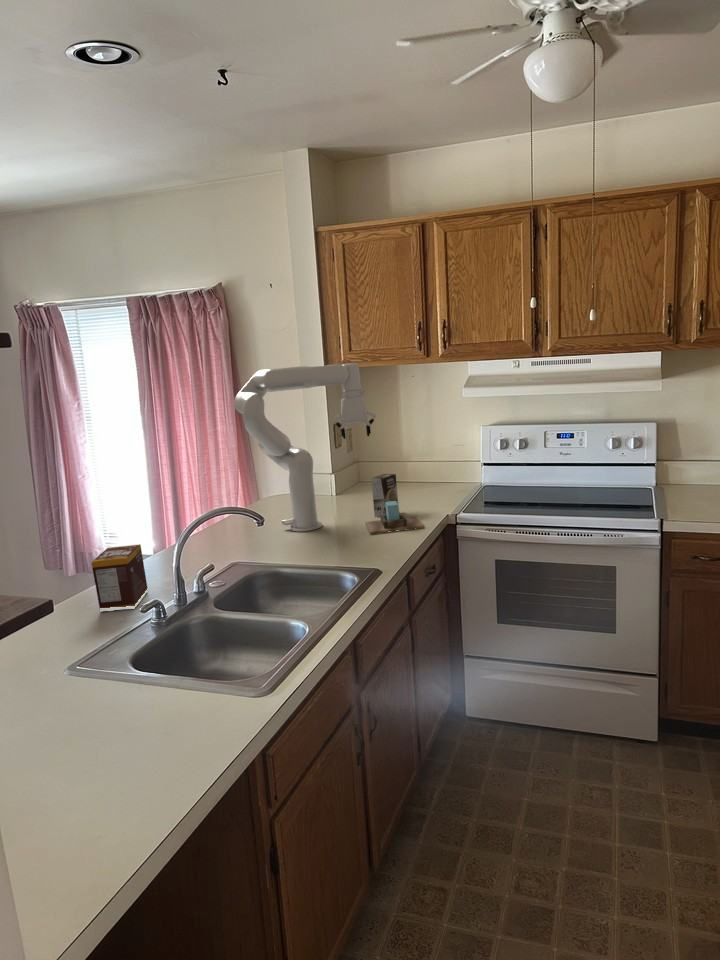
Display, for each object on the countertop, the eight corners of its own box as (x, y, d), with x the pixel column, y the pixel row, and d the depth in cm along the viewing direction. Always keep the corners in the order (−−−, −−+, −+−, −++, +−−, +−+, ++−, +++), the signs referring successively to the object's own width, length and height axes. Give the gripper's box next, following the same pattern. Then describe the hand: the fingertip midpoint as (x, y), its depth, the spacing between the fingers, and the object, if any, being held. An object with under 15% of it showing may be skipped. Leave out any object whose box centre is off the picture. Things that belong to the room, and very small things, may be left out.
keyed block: (387, 522, 276) (385, 502, 275) (397, 521, 277) (395, 500, 275) (389, 526, 269) (387, 505, 268) (400, 525, 270) (398, 504, 268)
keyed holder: (370, 534, 265) (369, 525, 264) (365, 524, 280) (364, 515, 280) (423, 528, 266) (422, 519, 266) (416, 518, 282) (415, 509, 281)
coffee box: (387, 517, 287) (383, 478, 284) (374, 516, 291) (370, 477, 288) (399, 512, 294) (396, 473, 292) (387, 511, 298) (383, 473, 295)
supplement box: (148, 591, 224) (141, 543, 221) (135, 609, 209) (126, 558, 206) (115, 595, 224) (107, 547, 221) (99, 613, 209) (90, 561, 206)
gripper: (372, 391, 291) (376, 433, 295) (329, 396, 290) (334, 438, 293) (374, 392, 284) (378, 435, 287) (331, 397, 283) (335, 440, 286)
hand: (356, 437), depth 290 cm, fingers open, 9 cm apart
